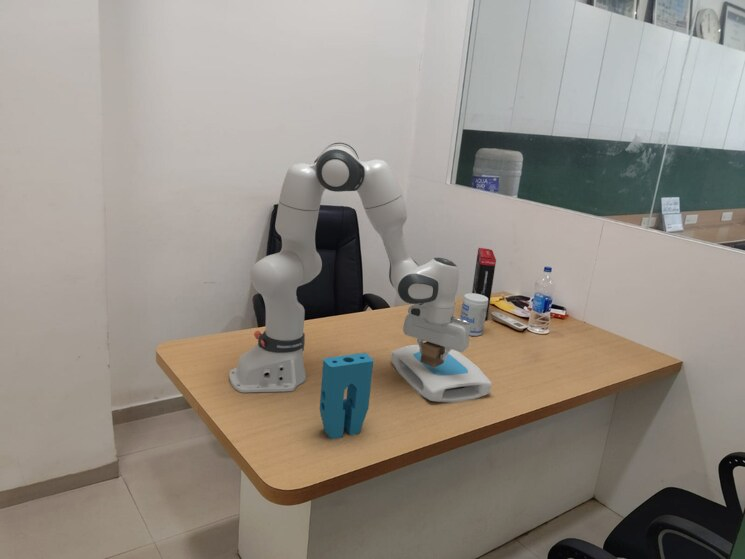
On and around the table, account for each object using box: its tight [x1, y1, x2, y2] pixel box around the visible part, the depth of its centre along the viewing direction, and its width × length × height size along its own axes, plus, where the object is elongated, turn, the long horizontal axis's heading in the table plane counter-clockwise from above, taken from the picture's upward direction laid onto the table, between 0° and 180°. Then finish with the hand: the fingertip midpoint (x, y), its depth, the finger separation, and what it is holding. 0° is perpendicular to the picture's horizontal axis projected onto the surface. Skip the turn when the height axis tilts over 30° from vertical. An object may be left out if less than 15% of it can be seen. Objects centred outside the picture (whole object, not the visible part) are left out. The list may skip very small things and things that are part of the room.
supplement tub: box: [459, 292, 488, 337], centre depth 212 cm, size 10×10×15 cm
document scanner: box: [390, 344, 493, 404], centre depth 171 cm, size 21×28×6 cm
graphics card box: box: [471, 247, 497, 321], centre depth 232 cm, size 17×7×27 cm, turn 174°
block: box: [319, 352, 374, 440], centre depth 136 cm, size 12×5×20 cm, turn 119°
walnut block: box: [420, 341, 445, 368], centre depth 163 cm, size 5×5×6 cm
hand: (432, 356), depth 163 cm, fingers closed on walnut block, 5 cm apart
